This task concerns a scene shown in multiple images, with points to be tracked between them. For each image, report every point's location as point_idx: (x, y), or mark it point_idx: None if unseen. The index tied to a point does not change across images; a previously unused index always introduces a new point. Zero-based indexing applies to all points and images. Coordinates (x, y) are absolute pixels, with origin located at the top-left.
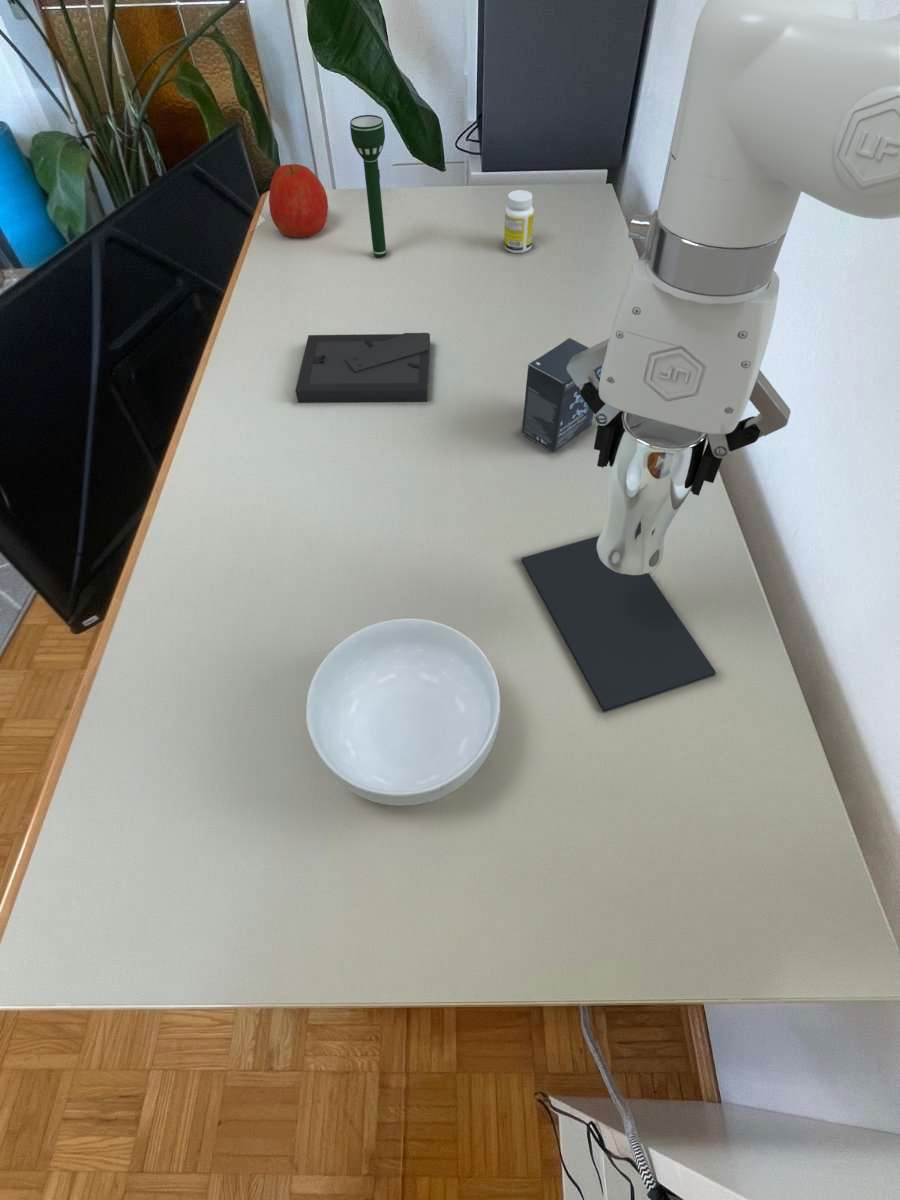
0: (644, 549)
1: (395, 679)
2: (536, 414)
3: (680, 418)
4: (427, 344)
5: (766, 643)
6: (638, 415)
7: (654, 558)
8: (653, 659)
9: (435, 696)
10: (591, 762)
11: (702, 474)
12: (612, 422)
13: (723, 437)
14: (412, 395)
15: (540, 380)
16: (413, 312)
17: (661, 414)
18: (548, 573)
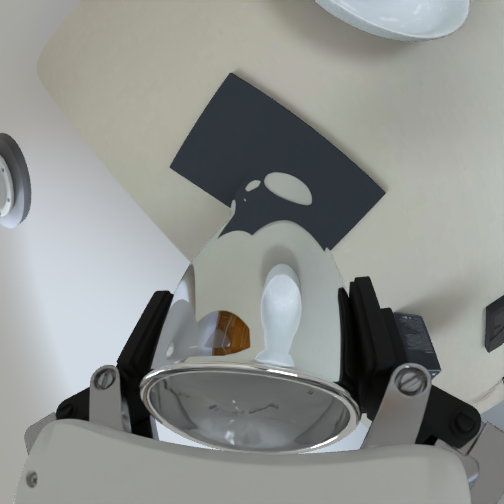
0: (241, 202)
1: (411, 11)
2: (419, 335)
3: (135, 474)
4: (490, 345)
5: (156, 218)
6: (298, 461)
7: (232, 207)
8: (218, 146)
9: (372, 8)
10: (216, 29)
11: (140, 326)
12: (378, 382)
13: (93, 409)
14: (496, 305)
15: (428, 362)
16: (492, 359)
17: (203, 485)
18: (354, 187)
